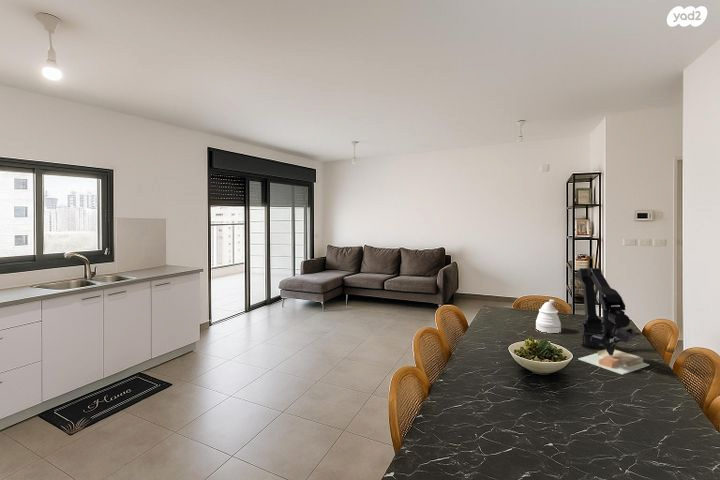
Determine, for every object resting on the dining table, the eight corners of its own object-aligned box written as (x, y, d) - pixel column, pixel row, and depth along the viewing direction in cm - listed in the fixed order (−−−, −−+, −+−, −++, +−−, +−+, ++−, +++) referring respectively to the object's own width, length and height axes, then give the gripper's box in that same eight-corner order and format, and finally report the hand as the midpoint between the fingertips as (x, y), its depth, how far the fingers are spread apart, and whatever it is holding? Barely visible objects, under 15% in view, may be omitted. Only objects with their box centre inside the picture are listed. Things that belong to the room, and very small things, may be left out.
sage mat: (578, 359, 166) (578, 358, 166) (604, 351, 174) (604, 350, 174) (622, 374, 149) (622, 373, 149) (649, 365, 157) (649, 364, 157)
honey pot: (561, 328, 211) (561, 298, 210) (560, 335, 200) (559, 303, 199) (537, 326, 218) (536, 296, 217) (534, 332, 207) (534, 301, 206)
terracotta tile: (598, 364, 159) (598, 360, 159) (607, 360, 163) (607, 355, 163) (611, 368, 155) (611, 363, 154) (620, 363, 159) (620, 359, 159)
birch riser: (597, 356, 168) (597, 351, 168) (609, 353, 172) (609, 348, 172) (630, 367, 155) (630, 361, 155) (642, 363, 159) (642, 357, 159)
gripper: (616, 328, 149) (616, 365, 150) (643, 321, 156) (643, 357, 157) (589, 322, 159) (590, 357, 160) (616, 316, 166) (616, 349, 167)
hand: (610, 355), depth 161 cm, fingers closed
